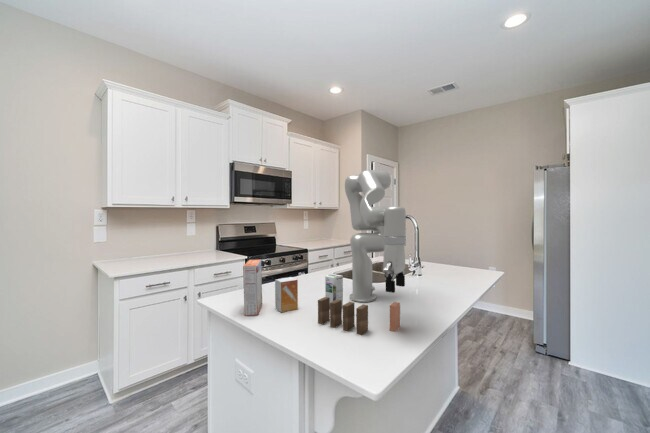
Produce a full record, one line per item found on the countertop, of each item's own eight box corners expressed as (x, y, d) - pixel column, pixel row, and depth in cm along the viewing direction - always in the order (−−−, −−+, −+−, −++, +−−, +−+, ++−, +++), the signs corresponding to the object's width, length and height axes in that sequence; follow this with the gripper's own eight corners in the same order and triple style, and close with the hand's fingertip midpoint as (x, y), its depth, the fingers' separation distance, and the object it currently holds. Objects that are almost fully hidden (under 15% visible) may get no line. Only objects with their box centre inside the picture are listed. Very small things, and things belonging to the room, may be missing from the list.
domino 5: (389, 330, 102) (389, 305, 102) (394, 325, 107) (394, 301, 106) (395, 331, 101) (395, 306, 101) (400, 327, 105) (400, 302, 105)
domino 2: (330, 326, 106) (329, 302, 106) (337, 322, 110) (337, 299, 110) (334, 328, 105) (334, 303, 105) (341, 323, 109) (341, 300, 109)
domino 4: (356, 334, 100) (356, 308, 100) (363, 329, 104) (362, 304, 104) (361, 335, 99) (361, 309, 99) (368, 330, 103) (367, 305, 103)
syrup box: (324, 308, 126) (324, 275, 125) (333, 305, 130) (333, 273, 130) (334, 311, 122) (334, 277, 122) (343, 308, 126) (343, 275, 126)
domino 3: (342, 330, 103) (342, 305, 103) (349, 325, 107) (349, 301, 107) (347, 331, 102) (347, 306, 102) (354, 326, 106) (354, 302, 106)
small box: (281, 312, 121) (280, 282, 121) (275, 308, 126) (274, 279, 126) (298, 309, 125) (297, 279, 125) (291, 305, 131) (291, 276, 130)
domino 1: (318, 323, 109) (317, 300, 109) (325, 319, 113) (325, 296, 113) (322, 324, 108) (322, 301, 108) (329, 320, 112) (329, 297, 112)
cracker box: (249, 304, 131) (248, 259, 131) (262, 304, 132) (262, 259, 131) (243, 316, 117) (242, 265, 117) (258, 315, 118) (257, 264, 117)
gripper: (393, 239, 112) (394, 282, 112) (374, 242, 98) (375, 293, 98) (413, 239, 108) (413, 285, 108) (396, 243, 94) (396, 296, 94)
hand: (395, 288), depth 103 cm, fingers open, 9 cm apart
